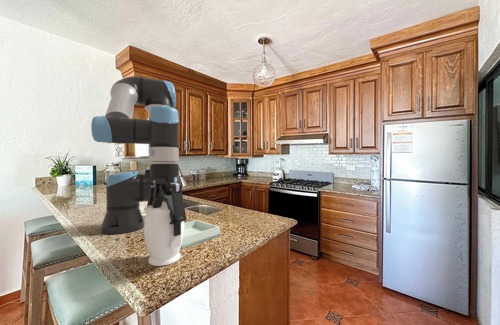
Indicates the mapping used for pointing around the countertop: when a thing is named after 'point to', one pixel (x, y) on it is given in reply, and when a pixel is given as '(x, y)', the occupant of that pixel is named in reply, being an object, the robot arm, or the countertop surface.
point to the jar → (160, 236)
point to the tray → (198, 233)
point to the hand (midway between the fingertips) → (164, 242)
